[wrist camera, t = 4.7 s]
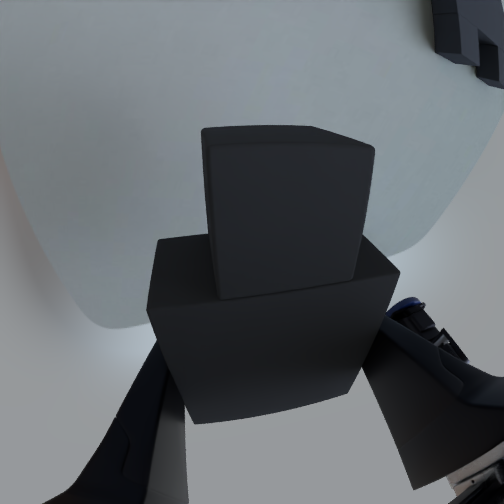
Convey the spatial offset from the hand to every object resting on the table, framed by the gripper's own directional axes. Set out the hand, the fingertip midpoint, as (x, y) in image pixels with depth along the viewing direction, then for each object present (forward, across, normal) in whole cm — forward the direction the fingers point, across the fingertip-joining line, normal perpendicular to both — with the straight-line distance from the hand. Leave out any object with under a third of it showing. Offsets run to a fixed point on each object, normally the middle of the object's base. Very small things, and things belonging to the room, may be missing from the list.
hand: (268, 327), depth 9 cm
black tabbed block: (+1, 0, -2) cm, 2 cm away
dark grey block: (+11, -22, -19) cm, 31 cm away
